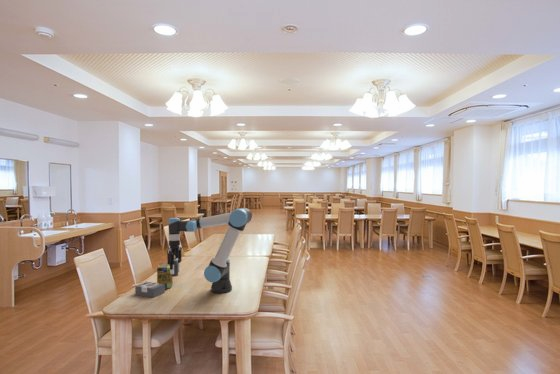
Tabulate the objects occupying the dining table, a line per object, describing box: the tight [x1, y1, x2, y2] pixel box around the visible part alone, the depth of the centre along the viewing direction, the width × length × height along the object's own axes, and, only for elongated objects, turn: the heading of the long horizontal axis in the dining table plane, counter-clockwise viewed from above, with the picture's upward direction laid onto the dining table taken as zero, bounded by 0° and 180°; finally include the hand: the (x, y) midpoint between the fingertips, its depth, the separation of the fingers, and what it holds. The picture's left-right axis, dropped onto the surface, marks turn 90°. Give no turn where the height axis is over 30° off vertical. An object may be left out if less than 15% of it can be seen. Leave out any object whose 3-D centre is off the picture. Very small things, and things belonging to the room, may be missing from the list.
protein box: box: [156, 262, 174, 289], centre depth 249 cm, size 10×15×16 cm
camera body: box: [134, 280, 166, 299], centre depth 230 cm, size 16×12×7 cm
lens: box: [171, 257, 179, 278], centre depth 231 cm, size 5×5×12 cm
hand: (174, 272), depth 231 cm, fingers closed on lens, 5 cm apart
